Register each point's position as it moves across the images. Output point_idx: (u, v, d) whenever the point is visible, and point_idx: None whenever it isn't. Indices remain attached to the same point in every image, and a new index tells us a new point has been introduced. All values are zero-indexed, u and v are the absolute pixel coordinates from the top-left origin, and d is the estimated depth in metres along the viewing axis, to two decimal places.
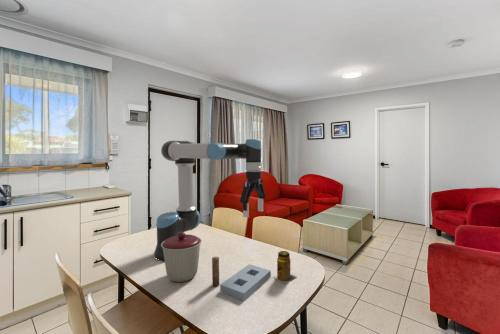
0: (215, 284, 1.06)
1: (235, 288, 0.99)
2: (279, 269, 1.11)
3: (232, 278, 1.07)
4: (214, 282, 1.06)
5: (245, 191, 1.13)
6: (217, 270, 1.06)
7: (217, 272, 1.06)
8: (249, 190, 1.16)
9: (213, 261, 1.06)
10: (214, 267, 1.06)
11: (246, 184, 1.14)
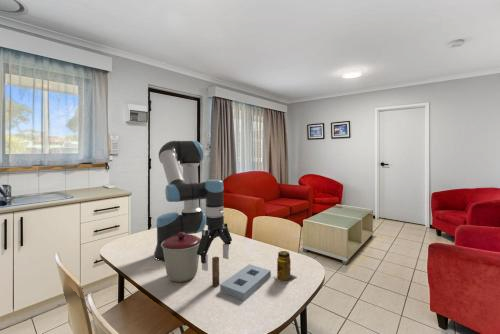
0: (215, 284, 1.06)
1: (235, 288, 0.99)
2: (279, 269, 1.11)
3: (232, 278, 1.07)
4: (214, 282, 1.06)
5: (203, 241, 0.99)
6: (217, 270, 1.06)
7: (217, 272, 1.06)
8: (209, 239, 1.03)
9: (213, 261, 1.06)
10: (214, 267, 1.06)
11: (204, 233, 1.00)
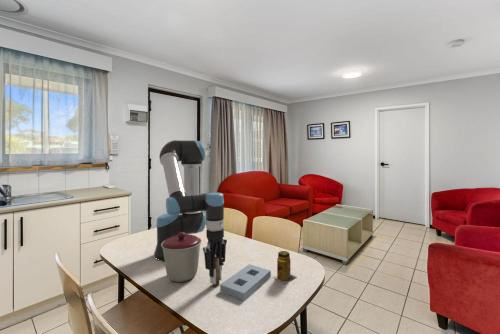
0: (215, 284, 1.06)
1: (235, 288, 0.99)
2: (279, 269, 1.11)
3: (232, 278, 1.07)
4: None
5: (207, 258, 1.02)
6: (217, 270, 1.06)
7: (217, 272, 1.06)
8: (212, 253, 1.05)
9: None
10: None
11: (206, 251, 1.01)
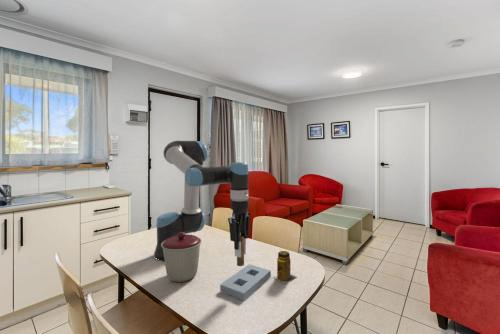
0: (240, 264, 1.02)
1: (235, 288, 0.99)
2: (279, 269, 1.11)
3: (232, 278, 1.07)
4: (239, 261, 1.02)
5: (233, 229, 0.98)
6: (242, 249, 1.02)
7: (242, 251, 1.02)
8: (237, 225, 1.00)
9: None
10: None
11: (231, 221, 0.97)
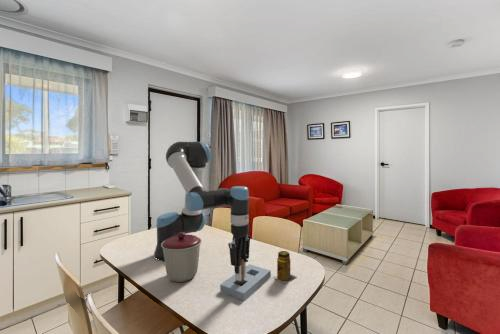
0: None
1: (235, 288, 0.99)
2: (279, 269, 1.11)
3: (232, 278, 1.07)
4: (239, 284, 1.03)
5: (233, 254, 0.98)
6: (242, 272, 1.03)
7: (242, 274, 1.03)
8: (237, 249, 1.01)
9: None
10: None
11: (231, 247, 0.98)
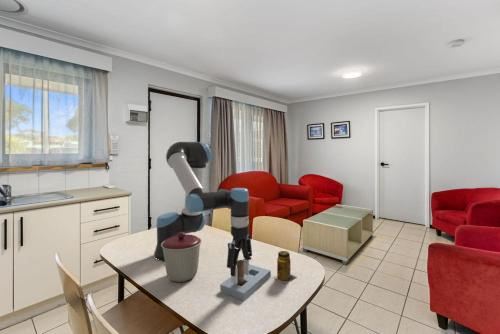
0: None
1: (235, 288, 0.99)
2: (279, 269, 1.11)
3: None
4: None
5: (231, 255, 0.97)
6: (242, 274, 1.03)
7: (242, 276, 1.03)
8: (236, 251, 1.00)
9: (238, 265, 1.02)
10: (239, 271, 1.02)
11: (231, 247, 0.97)
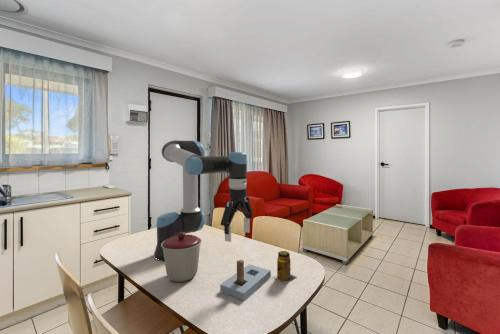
0: None
1: (235, 288, 0.99)
2: (279, 269, 1.11)
3: (232, 278, 1.07)
4: None
5: (227, 212, 0.99)
6: (242, 274, 1.03)
7: (242, 276, 1.03)
8: (232, 210, 1.02)
9: (238, 265, 1.02)
10: (239, 271, 1.02)
11: (228, 204, 1.00)
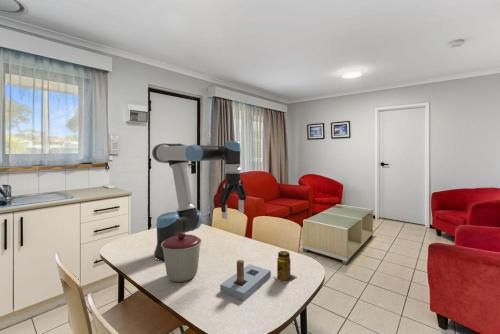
0: None
1: (235, 288, 0.99)
2: (279, 269, 1.11)
3: (232, 278, 1.07)
4: None
5: (223, 193, 1.14)
6: (242, 274, 1.03)
7: (242, 276, 1.03)
8: (228, 192, 1.17)
9: (238, 265, 1.02)
10: (239, 271, 1.02)
11: (224, 186, 1.15)
